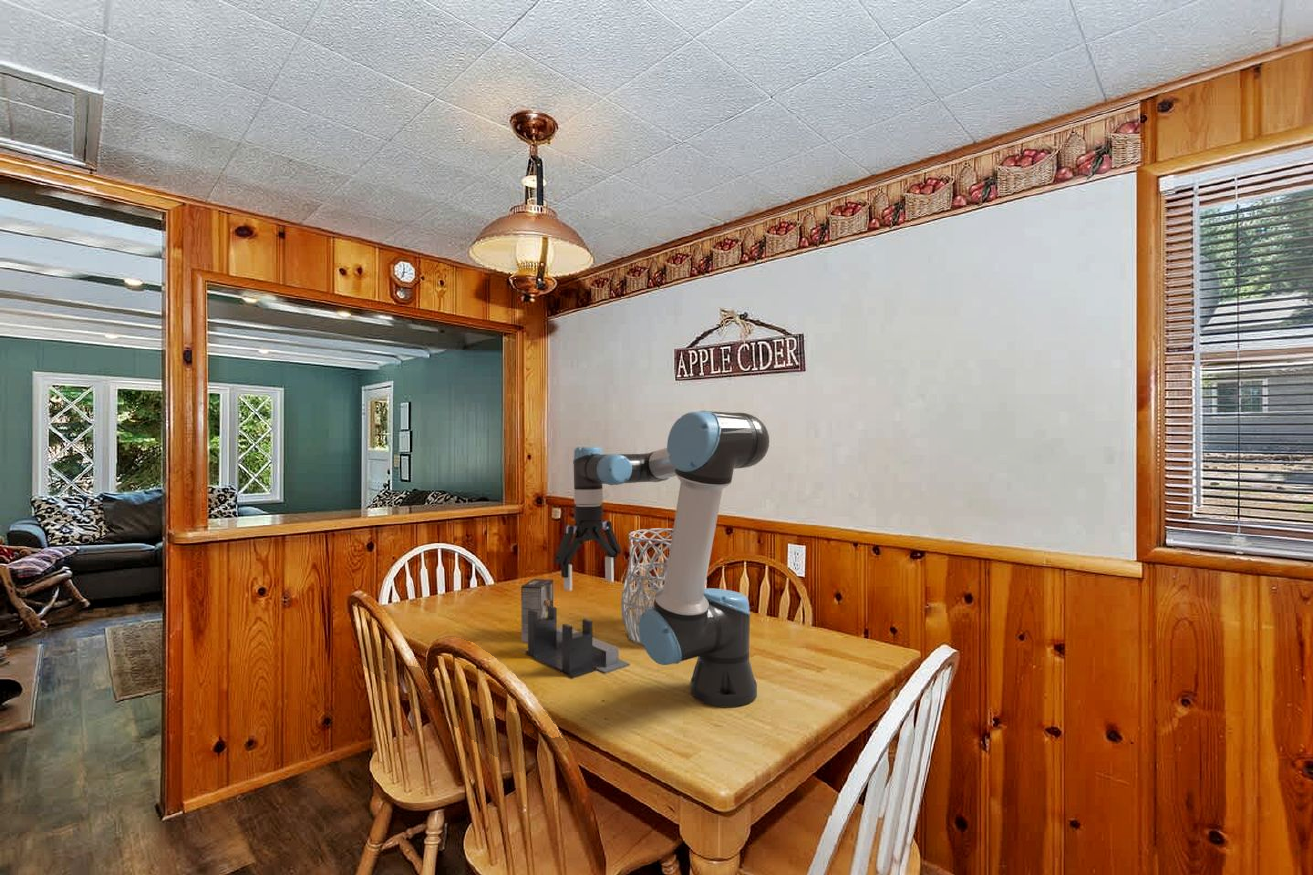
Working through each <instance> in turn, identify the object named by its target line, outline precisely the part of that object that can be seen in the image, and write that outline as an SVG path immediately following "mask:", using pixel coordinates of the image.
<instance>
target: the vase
mask: <svg viewBox="0 0 1313 875" xmlns="http://www.w3.org/2000/svg"><path fill="white" fill-rule="evenodd" d="M641 532H643V533H641ZM664 532H666V533H668V534H669V535H667V536H665V538H664V537H662V536H661V535H660V534H661V533H664ZM647 533H651V534H653V535H652V536H650V537H649V538H648V537H647V536H645V535H646V534H647ZM672 533H673V528H661V527H658V528H657V527H656V528H649V529H645V528H644V529H643V528H642V529H637V530H634V531H631V532H630V533H628V534H627V535H628V541H629V542H628V543H629V561H628V566H627V571H626V574H625V576H626V577H625V580H624V584H623V587H622V588H623V589H622V591H621V592H622V593H621V599H620V600H621V602H620V607H621V619H622V622H623V625H624V628H625V631H626V634H627V636H628V639H629V640H631V641H632V642H633V643H635V644H637V645H641V646H643V643H642V641H641V637H640V633H639V620H640V617H641V615H642V613H644V612H645V611H646V610H647V609H653V605H654V599H655V594H656V593H657V592H658V591H659V590H661V589H662V588H664V584H663V582H665V576H666V570H667V564H668V558H669V556H668V557H666V556H665V554H664V553H663V552H664V551H665V550H667V549H668V550H670V545H671V539H672V538H670V537H672ZM636 534H638V535H639V536H638V537H637V536H635V535H636ZM656 536H657V537H658V538H655V537H656ZM652 541H653V542H652ZM633 542H635V543H633ZM643 542H645V545H644V546H642V545H641V543H643ZM659 543H660V544H659ZM656 544H659V545H658V546H656ZM663 544H664V545H666V546H664V547H663V548H662V549H660V548H661V547H662V546H663ZM636 548H638V549H639V552H640V554H639V556H637V553H636ZM650 548H653V550H654V551H655V552H654V553H653V555H652V557H651V558H650V556H649V554H648V552H647V551H648V550H649V549H650ZM645 556H646V557H645ZM661 556H662V557H661ZM646 558H647V559H646ZM662 558H663V559H664V561H665V562H664V561H663V560H662ZM658 559H659V561H657V560H658ZM641 560H643V562H641V563H640V561H641ZM647 560H648V561H649V562H647ZM635 561H636V562H635ZM661 566H662V567H661ZM644 567H645V568H644ZM657 569H658V570H660V571H661V572H660V574H658V572H657ZM652 570H653V571H654V574H655V576H653V575H652V574H651V573H650V572H651V571H652ZM642 572H644V573H643V574H642ZM638 573H639V574H638ZM645 581H647V582H645ZM644 582H645V583H644ZM635 584H636V585H635ZM648 585H649V586H648ZM646 586H647V587H646ZM646 590H647V591H649V592H648V593H647V591H646ZM631 611H632V614H631Z"/></svg>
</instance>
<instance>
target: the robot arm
mask: <svg viewBox="0 0 1313 875" xmlns="http://www.w3.org/2000/svg"><path fill="white" fill-rule="evenodd" d="M769 447H770V435H769V432H768V429H767V427H766V425H765V424H764V422H762V420H760V419H759V418H758V417H756V416H755V415H753V414H749V413H745V412H729V411H728V412H727V411H708V410H701V411H691V412H687V413H684V414H683V415H681V416H680V418H678V419H677V420H675V422H674V423H673V425H672V426H671V429H670V430H669V433H668V437H667V442H666V447H664V448H661V449H657V450H654V451H651V452H647V453H646V452H645V453H609V454H608V453H607V454H605V453H604V454H603V449H602V448H601V447H600V446H582V447H581V446H579V447H575V449H574V451H573V460H572V461H573V462H572V463H573V487H574V488H573V493H574V496H573V500H574V501H573V504H575V506H574V507H573V511H574V513H573V517H574V521H575V523H574V525H569V524H566V525H565V526H564V533H563V536H562V538H561V541H560V544H559V547H558V549H557V552H556V555H555V556H554V559H553V561H554V563H557V564H559V565H560V566H561V567H560V569H561V570H560V574H561V577H562V578H563V590H566V591H569V592H571V591H573V565H572V564H570V563H571V561H572V559H573V558H574V557H575V555H576V553H577V551H578V550H579V548H580V547H581V545H582V544H584V542H589V541H591V540H592V541H596V542H597V544H599V546H600V547H601V549H602V550H603V551H604V552H605V554H606V555H607V556H605V557H604V573H605V574H604V575H605V576H604V577H605V578H604V579H605V582H609V583H614V580H615V579H614V577H615V576H614V569H616V558H618V557H619V554H621V553H622V550H621V549H622V548H621V547H620V544H619V542H618V540H617V537H616V535H615V533H614V530H613V525H612V521H609V520H602V519H603V518H604V515H603V514H604V512H603V511H604V510H603V505H602V504H603V503H604V502H603V500H604V497H603V485H608V486H617V485H618V486H619V485H623V484H636V483H659V482H663V481H667V480H669V478H673V477H677V479H678V480H679V481H680V485H679V491H678V497H677V504H676V510H675V515H674V516H675V517H674V522H673V527H672V529H673V531H672V532H671V533H672V535H671V538H670V539H671V541H670V543H671V545H670V549H669V552H668V557H669V558H668V557H667V559H668V564H667V566H666V568H667V570H666V575H665V581H663V582H664V584H663V585H664V588H662V589H661V590H659V591H658V592H657V593H656V594H655V597H654V598H653V601H654V605H653V609H647V610H646V611H645V612H644V613H642V612H641V614H642V615H641V617H640V620H639V621H638V625H639V633H640V637H641V641H642V643H643V645H642V646H643V648H644V650H645V653H647V655H648V657H649V658H651V660H652V661H654V662H655V663H656V664H658V665H661V666H666V665H667V666H669V665H673V664H675V665H676V664H679V663H681V662H683V661H687V660H690V659H694V658H697V660H696V663H695V666H694V669H693V673H692V677H691V678H690V683H689V686H690V687H689V688H690V690H689V692H690V695H691V696H692V697H693V699H695V700H697V701H698V702H700V703H703V704H706V705H709V706H713V707H720V708H721V707H722V708H730V707H731V708H733V707H740V706H745V705H747V704H751V702H754V701H755V700H756V698H757V697H758V685H757V684H758V683H757V681H756V678H755V676H754V672H753V668H752V665H751V662H750V628H751V627H750V624H751V623H750V622H751V617H750V616H751V612H750V602H749V599H748V597H747V596H746V595H744V594H743V593H741V592H738V591H734V590H730V589H729V590H728V589H723V588H714V587H713V588H712V587H711V588H709V587H708V588H706V583H707V578H708V572H709V568H710V567H709V566H710V561H711V556H712V551H713V550H712V548H713V544H714V538H715V532H716V527H717V522H718V516H719V510H720V505H721V499H722V494H723V490H724V489H725V488H726V487H728V486H730V485H731V483H732V481H733V480H732V479H733V474H734V470H735V469H746V468H751V467H753V466H755V465H757V464H758V463H760V462H761V461H762V460H763V459H764V457H766V455H767V452H768V451H769ZM602 530H603V532H604V534H603V533H602ZM605 537H606V538H605Z"/></svg>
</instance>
